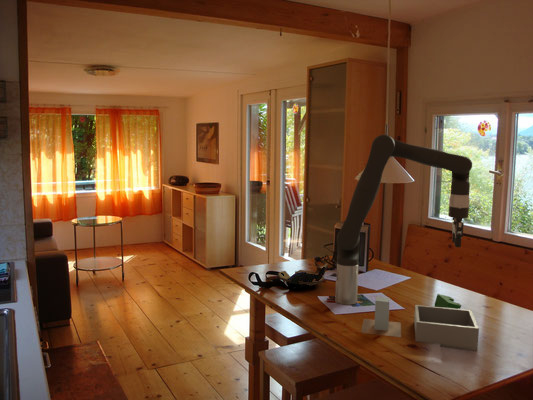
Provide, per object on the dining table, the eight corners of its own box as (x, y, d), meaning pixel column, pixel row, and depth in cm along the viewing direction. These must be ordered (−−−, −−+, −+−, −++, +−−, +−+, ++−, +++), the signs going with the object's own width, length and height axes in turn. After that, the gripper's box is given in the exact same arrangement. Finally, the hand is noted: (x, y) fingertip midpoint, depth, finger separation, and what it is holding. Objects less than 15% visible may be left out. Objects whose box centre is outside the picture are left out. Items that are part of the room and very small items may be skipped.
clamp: (453, 324, 192) (463, 309, 188) (440, 321, 192) (449, 305, 188) (446, 304, 203) (455, 289, 198) (433, 301, 202) (442, 286, 198)
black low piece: (270, 280, 237) (270, 265, 236) (323, 275, 247) (323, 261, 246) (286, 294, 216) (286, 278, 215) (343, 288, 226) (344, 272, 225)
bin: (415, 343, 164) (416, 322, 163) (414, 324, 181) (415, 304, 180) (477, 351, 158) (478, 328, 157) (469, 330, 176) (471, 310, 175)
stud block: (361, 335, 171) (361, 318, 170) (363, 321, 184) (364, 305, 183) (400, 339, 167) (401, 322, 166) (400, 325, 180) (401, 309, 180)
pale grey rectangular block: (374, 329, 174) (375, 300, 172) (374, 324, 179) (376, 296, 177) (388, 330, 172) (389, 302, 171) (388, 325, 177) (389, 297, 176)
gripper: (447, 202, 196) (444, 240, 198) (451, 207, 183) (448, 248, 185) (466, 203, 194) (463, 241, 196) (471, 208, 181) (468, 249, 183)
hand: (456, 244), depth 191 cm, fingers open, 8 cm apart
